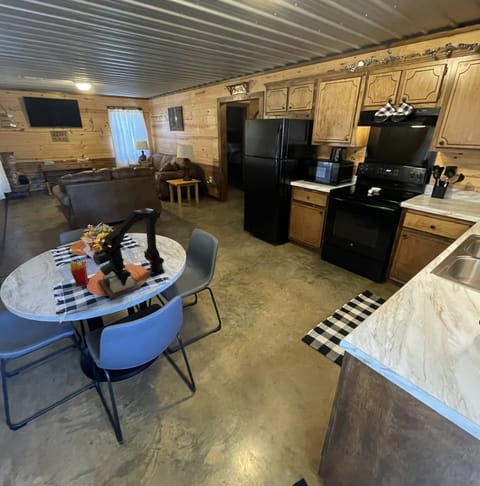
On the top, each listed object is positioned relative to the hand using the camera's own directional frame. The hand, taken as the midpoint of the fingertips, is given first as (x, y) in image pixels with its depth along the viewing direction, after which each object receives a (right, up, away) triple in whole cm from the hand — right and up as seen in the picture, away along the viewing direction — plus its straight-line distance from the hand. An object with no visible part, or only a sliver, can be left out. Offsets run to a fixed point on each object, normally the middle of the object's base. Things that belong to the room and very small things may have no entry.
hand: (121, 282), depth 143 cm
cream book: (0, +1, 0) cm, 1 cm away
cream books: (0, -2, +1) cm, 3 cm away
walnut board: (-3, -2, +5) cm, 6 cm away
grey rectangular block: (-7, +1, +9) cm, 11 cm away
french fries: (-25, -2, +6) cm, 25 cm away
